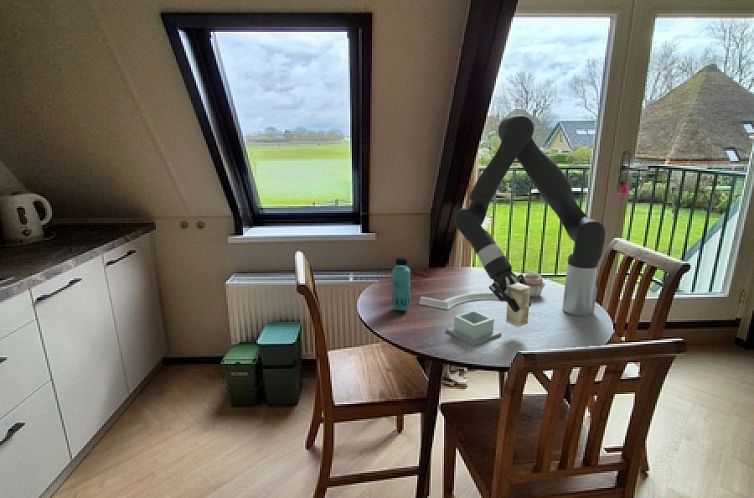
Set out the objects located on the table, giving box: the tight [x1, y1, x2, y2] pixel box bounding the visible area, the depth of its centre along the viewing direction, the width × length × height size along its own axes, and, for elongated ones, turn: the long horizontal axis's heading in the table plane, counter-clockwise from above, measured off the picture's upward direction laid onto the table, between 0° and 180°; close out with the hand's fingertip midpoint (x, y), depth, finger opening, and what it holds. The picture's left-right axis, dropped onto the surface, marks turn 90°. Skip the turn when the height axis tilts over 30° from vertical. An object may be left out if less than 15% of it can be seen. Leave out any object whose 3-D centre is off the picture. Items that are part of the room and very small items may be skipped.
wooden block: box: [505, 283, 531, 328], centre depth 125 cm, size 4×4×12 cm
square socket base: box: [445, 309, 502, 347], centre depth 130 cm, size 12×12×6 cm
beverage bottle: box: [391, 256, 411, 311], centre depth 145 cm, size 6×7×20 cm
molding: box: [418, 292, 502, 311], centre depth 156 cm, size 42×12×3 cm, turn 105°
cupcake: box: [523, 269, 546, 298], centre depth 159 cm, size 9×9×10 cm
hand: (523, 308), depth 124 cm, fingers closed on wooden block, 4 cm apart
